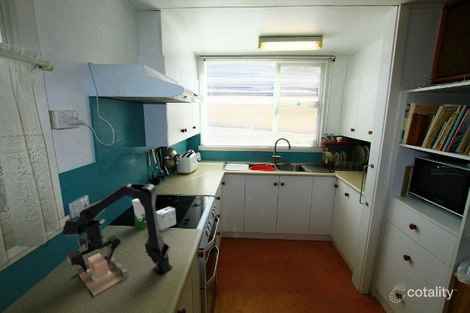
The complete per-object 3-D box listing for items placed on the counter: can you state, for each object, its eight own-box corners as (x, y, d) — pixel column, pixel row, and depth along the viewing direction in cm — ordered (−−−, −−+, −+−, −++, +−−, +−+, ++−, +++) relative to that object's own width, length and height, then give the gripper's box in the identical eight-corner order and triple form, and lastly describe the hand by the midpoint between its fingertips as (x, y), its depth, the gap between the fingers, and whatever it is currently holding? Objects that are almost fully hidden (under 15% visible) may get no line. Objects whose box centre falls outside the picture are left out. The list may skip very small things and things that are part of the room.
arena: (128, 276, 91) (127, 270, 90) (94, 296, 81) (93, 289, 80) (109, 258, 103) (108, 252, 103) (77, 273, 93) (76, 267, 93)
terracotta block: (100, 264, 98) (99, 253, 97) (108, 273, 92) (107, 261, 91) (89, 270, 94) (87, 258, 93) (97, 279, 89) (95, 266, 88)
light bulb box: (170, 221, 140) (169, 205, 139) (176, 224, 136) (175, 208, 134) (155, 227, 132) (154, 211, 130) (161, 230, 128) (160, 214, 126)
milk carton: (143, 230, 129) (140, 199, 125) (132, 227, 132) (129, 197, 129) (153, 223, 137) (151, 194, 133) (143, 221, 140) (140, 192, 137)
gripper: (109, 220, 102) (112, 249, 105) (61, 237, 88) (66, 270, 90) (119, 227, 95) (123, 258, 98) (68, 246, 81) (74, 282, 84)
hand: (98, 266), depth 93 cm, fingers open, 9 cm apart
